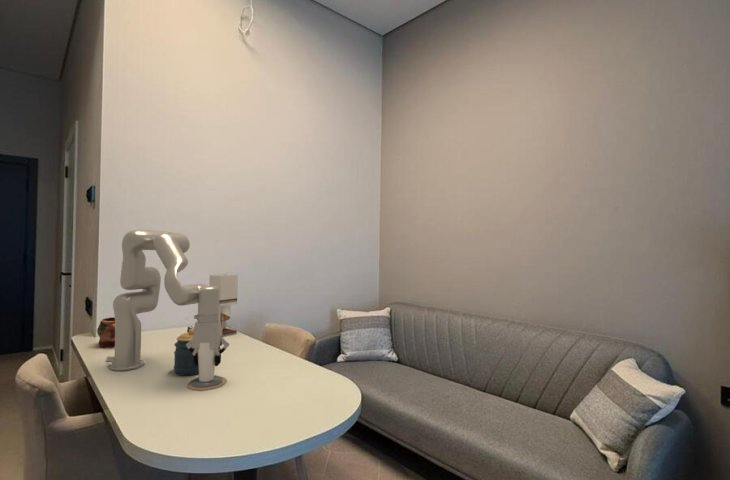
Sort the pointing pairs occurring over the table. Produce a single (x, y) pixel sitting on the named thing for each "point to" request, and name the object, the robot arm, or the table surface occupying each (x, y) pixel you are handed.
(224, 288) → the notched white tower
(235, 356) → the table surface
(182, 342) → the canister
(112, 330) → the decorative planter
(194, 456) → the table surface
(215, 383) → the round coaster
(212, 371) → the drinking glass
